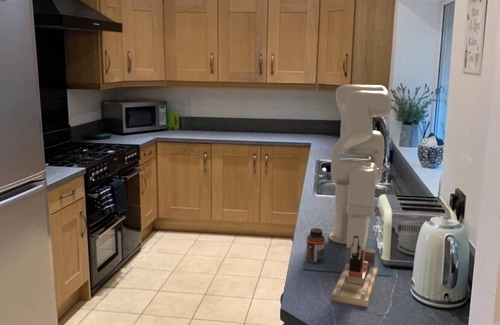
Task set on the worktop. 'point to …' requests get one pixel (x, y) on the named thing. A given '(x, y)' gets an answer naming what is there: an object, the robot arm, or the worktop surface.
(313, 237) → the supplement bottle
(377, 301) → the worktop surface
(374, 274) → the base
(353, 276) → the handle
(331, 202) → the worktop surface
